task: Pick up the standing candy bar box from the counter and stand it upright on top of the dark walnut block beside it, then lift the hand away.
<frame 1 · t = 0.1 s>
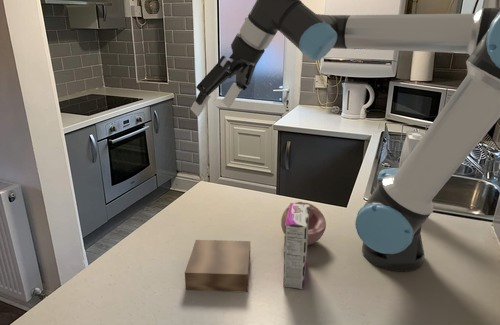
hand: (211, 108, 101), 36 cm above the countertop, tool tilted 35°, fingers open, 13 cm apart
walnut block: (220, 273, 92), on the countertop
skyscraper: (405, 214, 123), on the countertop
candy bar box: (294, 275, 92), on the countertop
mortar and pestle: (302, 242, 106), on the countertop
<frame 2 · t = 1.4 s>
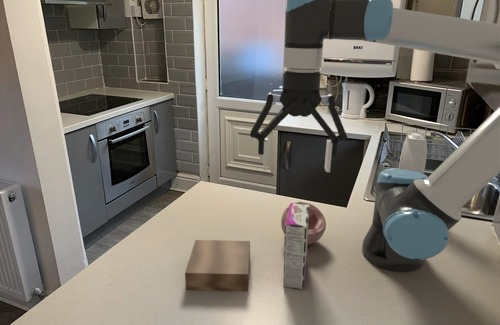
hand: (295, 169, 83), 27 cm above the countertop, tool pointing down, fingers open, 13 cm apart
nothing on the countertop moved.
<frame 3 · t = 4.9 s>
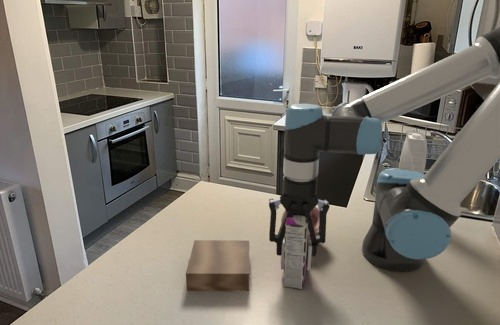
hand: (295, 266, 91), 2 cm above the countertop, tool pointing down, fingers closed on candy bar box, 5 cm apart
candy bar box: (294, 275, 92), on the countertop, touching gripper
everything else where it was.
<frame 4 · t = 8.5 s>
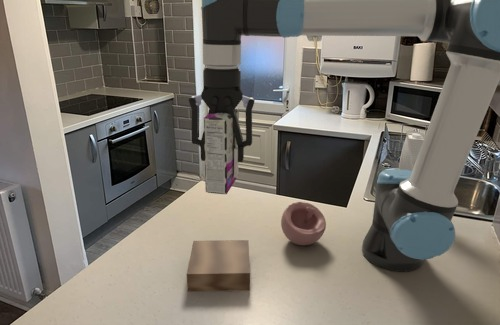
hand: (222, 174, 84), 25 cm above the countertop, tool pointing down, fingers closed on candy bar box, 5 cm apart
candy bar box: (222, 185, 85), point 23 cm above the countertop, touching gripper
everything else where it was.
when the fingers open (9 cm above the countertop, at t = 12.4 s): candy bar box drops 2 cm, resting on walnut block.
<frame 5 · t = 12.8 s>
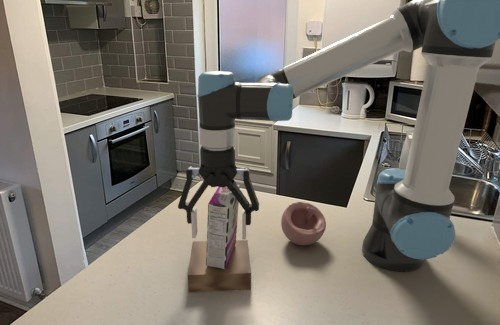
hand: (219, 235, 89), 10 cm above the countertop, tool pointing down, fingers open, 11 cm apart
walnut block: (220, 273, 92), on the countertop, touching candy bar box
candy bar box: (220, 255, 91), point 5 cm above the countertop, touching walnut block
everything else where it was.
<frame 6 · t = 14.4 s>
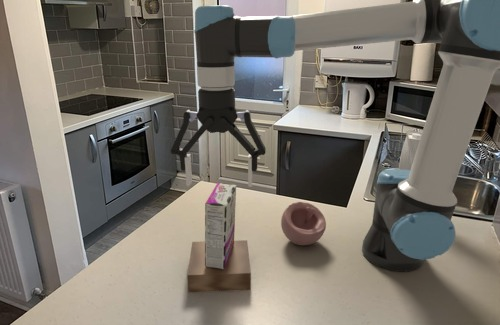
hand: (219, 184, 85), 23 cm above the countertop, tool pointing down, fingers open, 13 cm apart
walnut block: (219, 274, 92), on the countertop
candy bar box: (219, 256, 91), point 4 cm above the countertop
everything else where it was.
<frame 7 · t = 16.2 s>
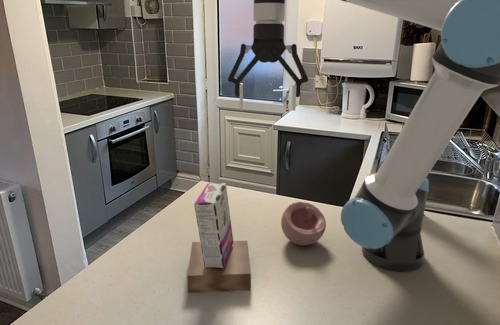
hand: (267, 109, 100), 36 cm above the countertop, tool pointing down, fingers open, 13 cm apart
walnut block: (220, 274, 92), on the countertop, touching candy bar box
candy bar box: (219, 255, 91), point 5 cm above the countertop, touching walnut block
everything else where it was.
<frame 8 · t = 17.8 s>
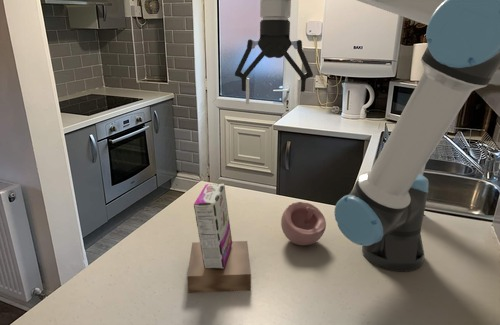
hand: (272, 103, 102), 37 cm above the countertop, tool pointing down, fingers open, 13 cm apart
nothing on the countertop moved.
at the end: candy bar box inside the target area on the walnut block (0.3 cm from its centre), point 5.2 cm above the walnut block's base; candy bar box tilted 11°; the gripper is holding nothing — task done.
